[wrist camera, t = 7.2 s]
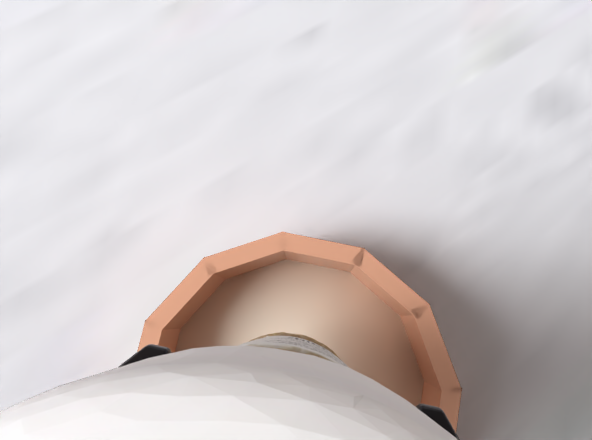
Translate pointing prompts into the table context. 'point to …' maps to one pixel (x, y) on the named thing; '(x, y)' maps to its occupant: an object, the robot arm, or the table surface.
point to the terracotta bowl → (313, 312)
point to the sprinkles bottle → (224, 399)
